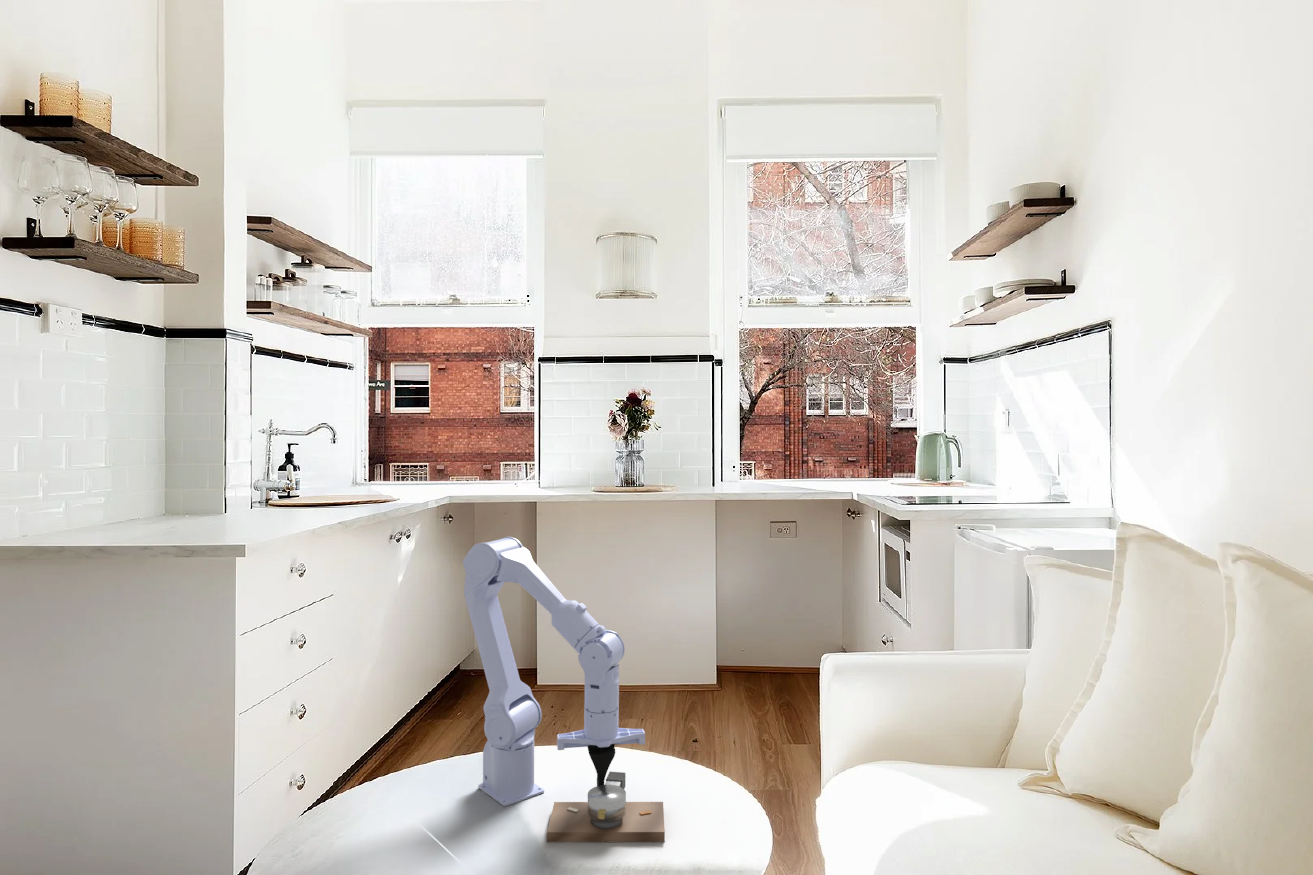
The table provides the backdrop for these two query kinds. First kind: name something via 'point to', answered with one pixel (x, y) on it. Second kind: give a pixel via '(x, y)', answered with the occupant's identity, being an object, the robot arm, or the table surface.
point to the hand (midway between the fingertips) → (600, 788)
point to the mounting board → (606, 824)
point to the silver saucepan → (608, 799)
